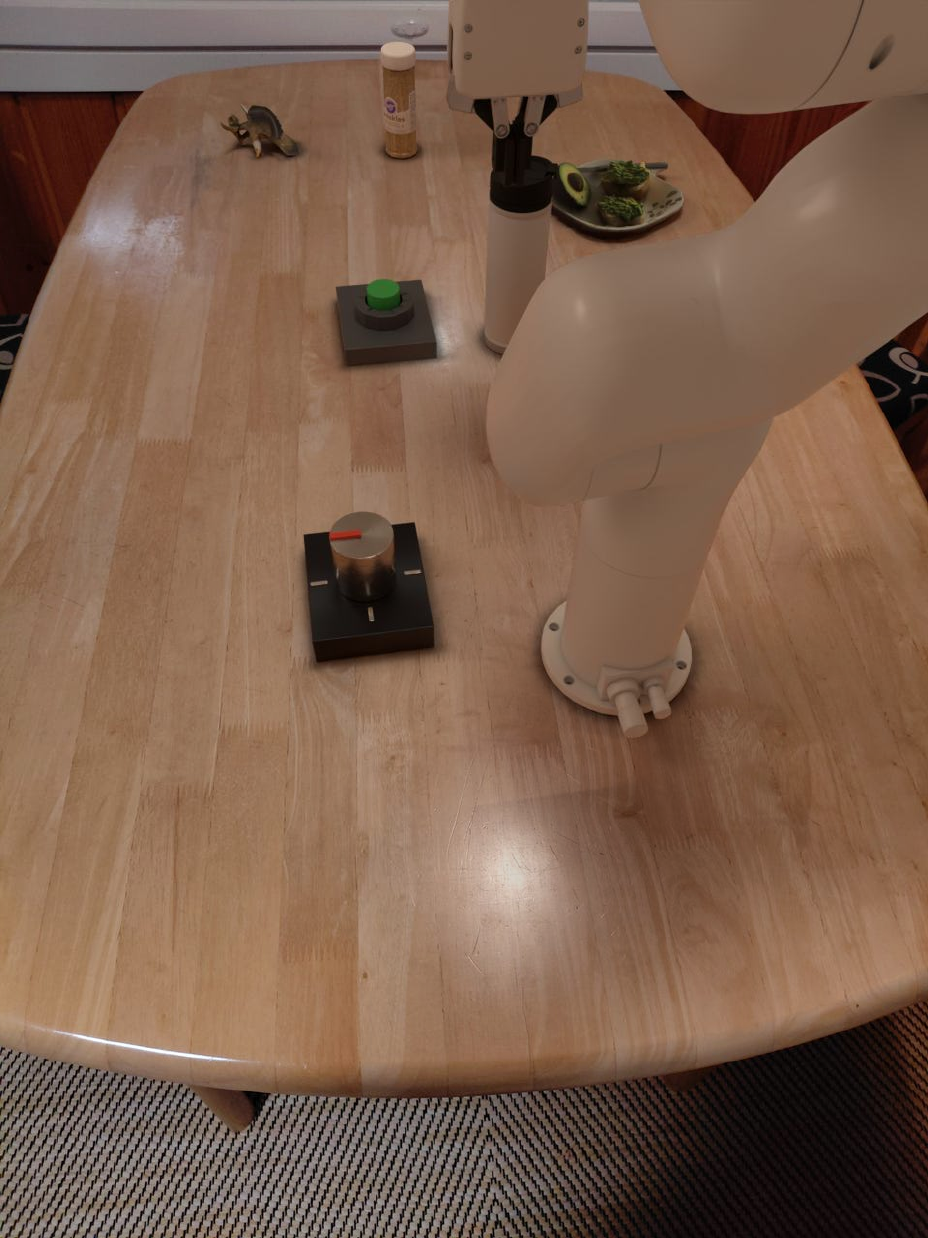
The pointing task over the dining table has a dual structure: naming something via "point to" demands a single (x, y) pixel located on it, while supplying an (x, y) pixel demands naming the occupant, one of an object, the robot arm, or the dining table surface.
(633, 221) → the avocado toast plate
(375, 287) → the button
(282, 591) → the dining table surface
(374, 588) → the program dial
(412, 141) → the sprinkles bottle
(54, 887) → the dining table surface
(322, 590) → the dial panel
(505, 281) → the travel mug
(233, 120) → the brown horned dinosaur figurine
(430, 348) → the block
